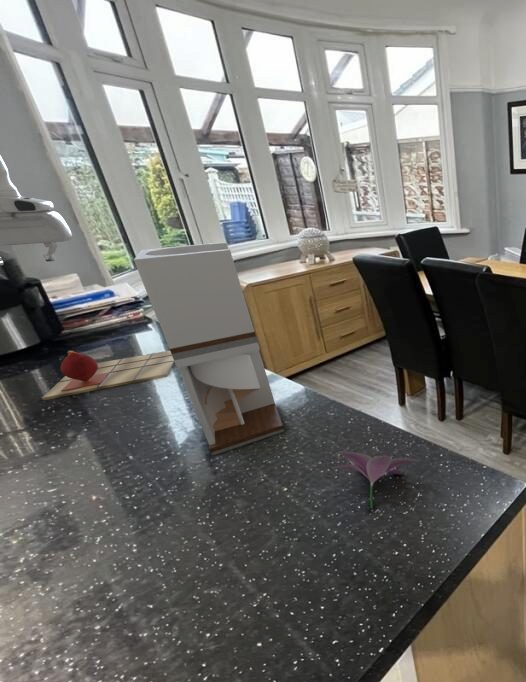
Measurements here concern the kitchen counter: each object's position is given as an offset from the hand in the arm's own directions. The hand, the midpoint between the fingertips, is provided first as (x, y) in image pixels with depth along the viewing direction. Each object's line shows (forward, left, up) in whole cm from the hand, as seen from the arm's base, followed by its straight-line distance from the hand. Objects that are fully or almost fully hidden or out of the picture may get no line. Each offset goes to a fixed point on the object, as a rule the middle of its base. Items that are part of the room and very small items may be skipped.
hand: (25, 263), depth 98 cm
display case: (+44, -64, -27) cm, 82 cm away
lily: (+63, -93, -27) cm, 116 cm away
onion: (+9, -22, -26) cm, 35 cm away
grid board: (+14, -18, -27) cm, 35 cm away
